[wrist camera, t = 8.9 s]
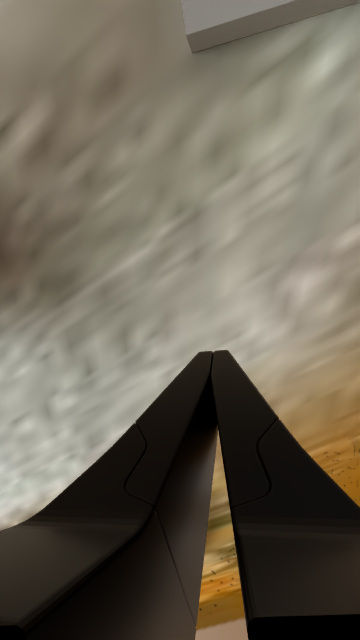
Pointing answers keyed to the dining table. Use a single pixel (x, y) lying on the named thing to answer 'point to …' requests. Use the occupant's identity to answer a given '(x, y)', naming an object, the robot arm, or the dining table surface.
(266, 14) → the deck
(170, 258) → the dining table surface
